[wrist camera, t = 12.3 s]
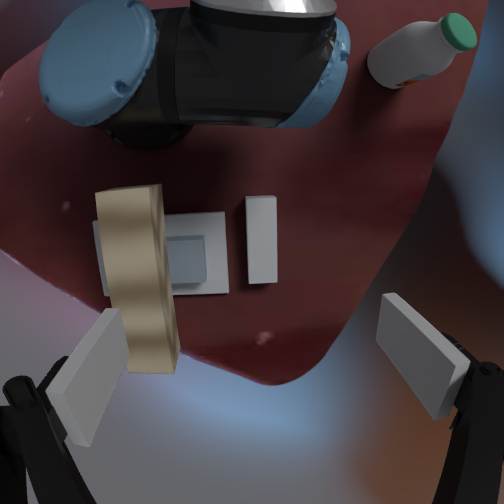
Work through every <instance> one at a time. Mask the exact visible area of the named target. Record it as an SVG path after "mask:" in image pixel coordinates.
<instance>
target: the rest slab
mask: <svg viewBox="0 0 504 504" xmlns="http://www.w3.org/2000/svg"><path fill="white" fill-rule="evenodd" d="M245 204H246V232H247V260H248V279H249V284H255V283H274V282H277V213H276V197H275V196H245Z"/></svg>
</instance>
